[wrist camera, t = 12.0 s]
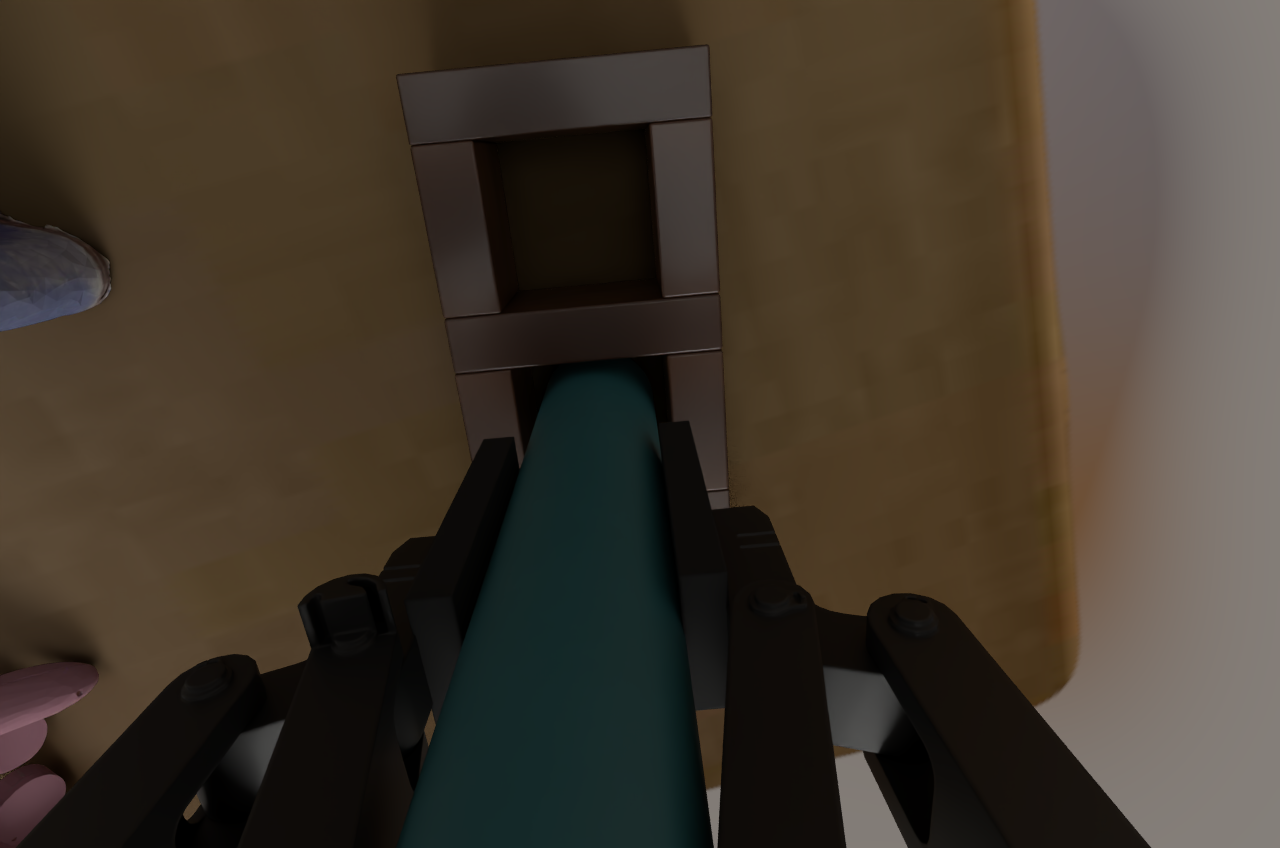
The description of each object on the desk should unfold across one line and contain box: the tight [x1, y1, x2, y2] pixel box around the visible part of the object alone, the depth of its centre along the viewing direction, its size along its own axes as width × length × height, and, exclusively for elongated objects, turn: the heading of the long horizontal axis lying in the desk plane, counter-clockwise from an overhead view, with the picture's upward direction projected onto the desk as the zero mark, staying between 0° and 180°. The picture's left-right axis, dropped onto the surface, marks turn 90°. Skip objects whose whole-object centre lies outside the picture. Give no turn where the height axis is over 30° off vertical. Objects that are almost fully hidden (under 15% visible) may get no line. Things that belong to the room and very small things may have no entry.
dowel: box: [396, 358, 714, 848], centre depth 14 cm, size 4×4×19 cm
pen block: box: [396, 44, 730, 509], centre depth 21 cm, size 20×8×4 cm, turn 5°
